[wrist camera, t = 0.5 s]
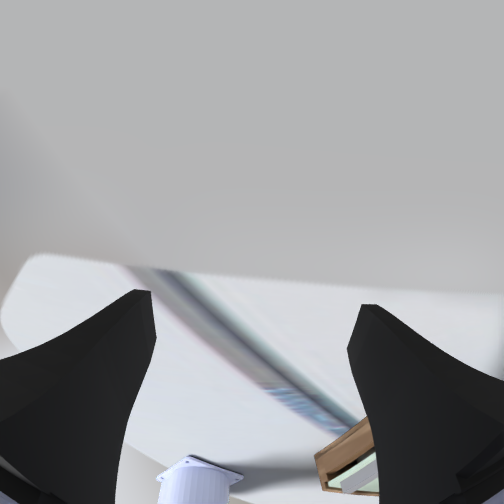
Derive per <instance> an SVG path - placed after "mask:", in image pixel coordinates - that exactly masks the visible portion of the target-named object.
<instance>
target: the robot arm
mask: <svg viewBox="0 0 504 504" xmlns="http://www.w3.org/2000/svg"><path fill="white" fill-rule="evenodd" d="M156 338H157V337H156V331H155V323H154V316H153V308H152V299H151V291H146V290H137V289H134V290H132V291H130V292H128V293H127V294H125V295H124V296H122V297H120V298H119V299H117V300H116V301H114V302H113V303H111V304H110V305H108V306H107V307H105V308H104V309H102V310H101V311H99V312H98V313H96V314H95V315H93V316H92V317H90V318H89V319H87V320H85V321H84V322H82V323H80V324H79V325H77V326H75V327H74V328H72V329H71V330H69V331H67V332H65V333H64V334H62V335H60V336H58V337H56V338H54V339H52V340H50V341H48V342H46V343H44V344H41V345H39V346H37V347H34V348H32V349H29V350H27V351H24V352H22V353H19V354H16V355H14V356H11V357H7V358H4V359H1V360H0V504H115V492H116V482H117V473H118V466H119V461H120V455H121V449H122V444H123V440H124V435H125V431H126V426H127V422H128V419H129V416H130V413H131V410H132V407H133V405H134V402H135V400H136V397H137V395H138V392H139V389H140V387H141V384H142V382H143V379H144V377H145V374H146V372H147V369H148V367H149V364H150V362H151V358H152V354H153V350H154V346H155V342H156ZM347 352H348V357H349V362H350V367H351V371H352V374H353V377H354V380H355V383H356V386H357V389H358V392H359V394H360V397H361V400H362V403H363V406H364V409H365V412H366V415H367V417H368V420H369V424H370V428H371V431H372V436H373V442H374V447H375V453H376V461H377V469H378V481H379V504H504V381H503V380H500V379H497V378H495V377H492V376H489V375H487V374H485V373H483V372H481V371H478V370H476V369H474V368H472V367H470V366H468V365H466V364H464V363H463V362H461V361H459V360H457V359H456V358H454V357H452V356H450V355H449V354H447V353H446V352H444V351H442V350H441V349H439V348H438V347H436V346H435V345H434V344H432V343H431V342H429V341H428V340H426V339H425V338H423V337H422V336H421V335H419V334H418V333H417V332H415V331H414V330H413V329H411V328H410V327H409V326H407V325H406V324H404V323H403V322H402V321H400V320H399V319H398V318H396V317H395V316H394V315H392V314H391V313H389V312H388V311H387V310H385V309H384V308H382V307H380V306H379V305H377V304H362V305H361V308H360V311H359V314H358V317H357V321H356V324H355V327H354V330H353V332H352V335H351V338H350V341H349V344H348V347H347ZM242 479H244V476H243V475H240V474H237V473H234V472H231V471H228V470H225V469H222V468H219V467H217V466H214V465H211V464H208V463H206V462H203V461H201V460H198V459H196V458H193V457H190V456H187V457H185V458H184V459H183V460H181V461H180V462H178V463H177V464H175V465H174V466H172V467H171V468H169V469H168V470H166V471H165V472H163V473H162V474H160V475H158V476H157V477H156V480H157V481H159V482H162V484H161V489H160V494H159V500H158V504H229V486H231V485H233V484H235V483H237V482H239V481H241V480H242Z"/></svg>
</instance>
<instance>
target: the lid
mask: <svg viewBox="0 0 504 504" xmlns="http://www.w3.org/2000/svg"><path fill="white" fill-rule="evenodd" d="M328 485H329V487H336V488H342V491H343V493H345V494H351V493H353V492H354V491H356V490H360V491H371V492H379V481H378V469H377V461H376V453H375V452H374V453H373V454H372V455H370V456H369V457H367V458H366V459H364V460H363V461H361V462H360V463H358V464H357V465H355V466H354V467H352V468H351V469H349V470H348V471H346V472H344V473H343V474H341V475H339V476H338V477H336V478H334V479H333V480H331V481H329V482H328Z"/></svg>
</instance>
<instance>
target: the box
mask: <svg viewBox="0 0 504 504" xmlns="http://www.w3.org/2000/svg"><path fill="white" fill-rule="evenodd" d="M372 447H374V442H373V436H372V431H371V428H370V424H369V420H368V417H365V418H364V419H363V420H362V421H360V422H359V423H358V424H357V425H355V426H354V427H353V428H352V429H350V430H349V431H348V432H346V433H345V434H344V435H342V436H341V437H340V438H338V439H337V440H335V441H334V442H333V443H331V444H330V445H328V446H327V447H326V448H324V449H323V450H321V451H320V452H318V453H317V454H315V455H314V457H315V461H316V465H317V469H318V473H319V478H320V482H321V486H322V491H328V492H336V493H343V491H342V488H336V487H329V485H328V482H329V481H331V480H333V479H334V478H336V477H338V476H339V475H341V474H343V473H344V472H346V471H348V470H349V469H351V468H352V467H354V466H355V465H357V461H356V459H357V458H358V457H360V456H361V455H362V454H364V453H365V452H367V451H368V450H369V449H371V448H372ZM344 494H345V493H344ZM351 494H354V495H366V496H379V492H371V491H360V490H356V491H354V492H353V493H351Z"/></svg>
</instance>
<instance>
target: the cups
mask: <svg viewBox="0 0 504 504" xmlns="http://www.w3.org/2000/svg"><path fill="white" fill-rule="evenodd" d="M374 452H375V447H372V448H371V449H369V450H368V451H367V452H365V453H364V454H362V455H361V456H360V457H358V458H357V459H356V461H357V464H358V463H360V462H361V461H363V460H364V459H366V458H367V457H369V456H370V455H372V454H373V453H374Z"/></svg>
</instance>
